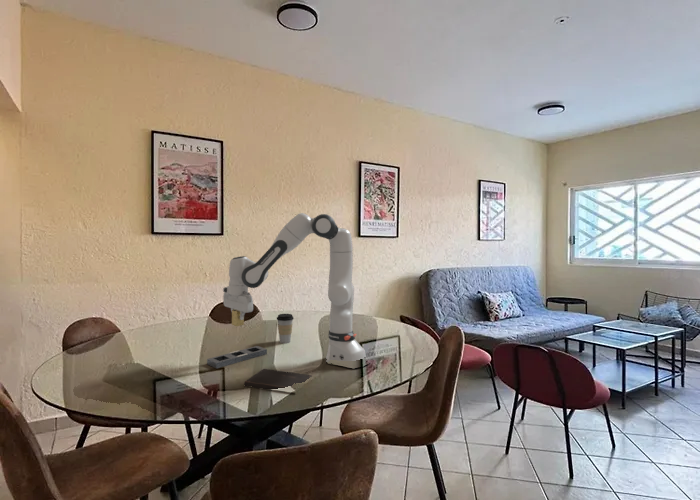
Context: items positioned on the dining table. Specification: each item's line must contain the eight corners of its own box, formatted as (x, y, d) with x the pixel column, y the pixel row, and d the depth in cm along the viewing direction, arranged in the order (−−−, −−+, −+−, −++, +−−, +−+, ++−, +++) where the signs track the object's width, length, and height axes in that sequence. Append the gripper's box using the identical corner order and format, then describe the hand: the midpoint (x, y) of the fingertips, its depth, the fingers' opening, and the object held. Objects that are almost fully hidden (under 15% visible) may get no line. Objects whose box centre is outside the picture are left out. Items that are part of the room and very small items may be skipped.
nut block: (243, 324, 194) (243, 310, 193) (236, 326, 191) (236, 311, 190) (239, 323, 196) (239, 309, 196) (231, 324, 193) (232, 310, 193)
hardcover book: (263, 373, 178) (263, 368, 178) (311, 380, 171) (312, 375, 171) (243, 387, 163) (243, 381, 162) (296, 395, 156) (296, 389, 156)
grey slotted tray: (266, 354, 203) (266, 348, 202) (216, 368, 182) (216, 362, 181) (257, 350, 208) (257, 345, 208) (207, 364, 187) (207, 358, 187)
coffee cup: (284, 345, 218) (284, 318, 217) (272, 342, 223) (272, 315, 222) (297, 341, 225) (297, 315, 224) (285, 338, 231) (285, 312, 230)
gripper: (256, 292, 188) (256, 321, 189) (232, 286, 202) (232, 314, 202) (245, 293, 183) (244, 323, 184) (221, 288, 197) (220, 315, 198)
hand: (237, 318), depth 193 cm, fingers closed on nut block, 4 cm apart
